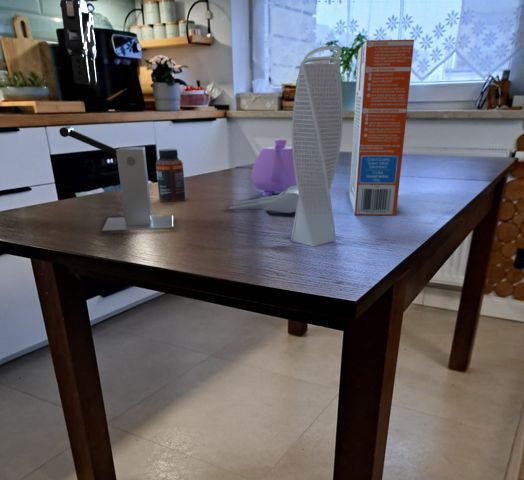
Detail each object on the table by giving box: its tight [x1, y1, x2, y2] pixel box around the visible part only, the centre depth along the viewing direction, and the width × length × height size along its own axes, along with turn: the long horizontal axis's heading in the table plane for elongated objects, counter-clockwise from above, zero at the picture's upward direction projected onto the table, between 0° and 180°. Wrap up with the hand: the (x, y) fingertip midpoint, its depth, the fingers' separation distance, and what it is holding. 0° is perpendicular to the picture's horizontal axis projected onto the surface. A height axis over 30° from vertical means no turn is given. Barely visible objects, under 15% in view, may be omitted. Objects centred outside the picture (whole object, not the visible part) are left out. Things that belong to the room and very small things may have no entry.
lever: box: [58, 125, 117, 157], centre depth 87 cm, size 13×5×2 cm, turn 99°
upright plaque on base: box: [101, 146, 174, 232], centre depth 91 cm, size 12×10×14 cm
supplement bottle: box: [155, 148, 187, 203], centre depth 114 cm, size 6×6×11 cm
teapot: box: [250, 139, 297, 197], centre depth 124 cm, size 20×14×12 cm
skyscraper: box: [290, 45, 344, 247], centre depth 79 cm, size 8×8×28 cm
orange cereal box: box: [348, 39, 415, 217], centre depth 106 cm, size 23×8×30 cm, turn 174°
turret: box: [228, 186, 299, 214], centre depth 106 cm, size 10×20×5 cm, turn 82°
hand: (86, 84), depth 83 cm, fingers open, 8 cm apart
